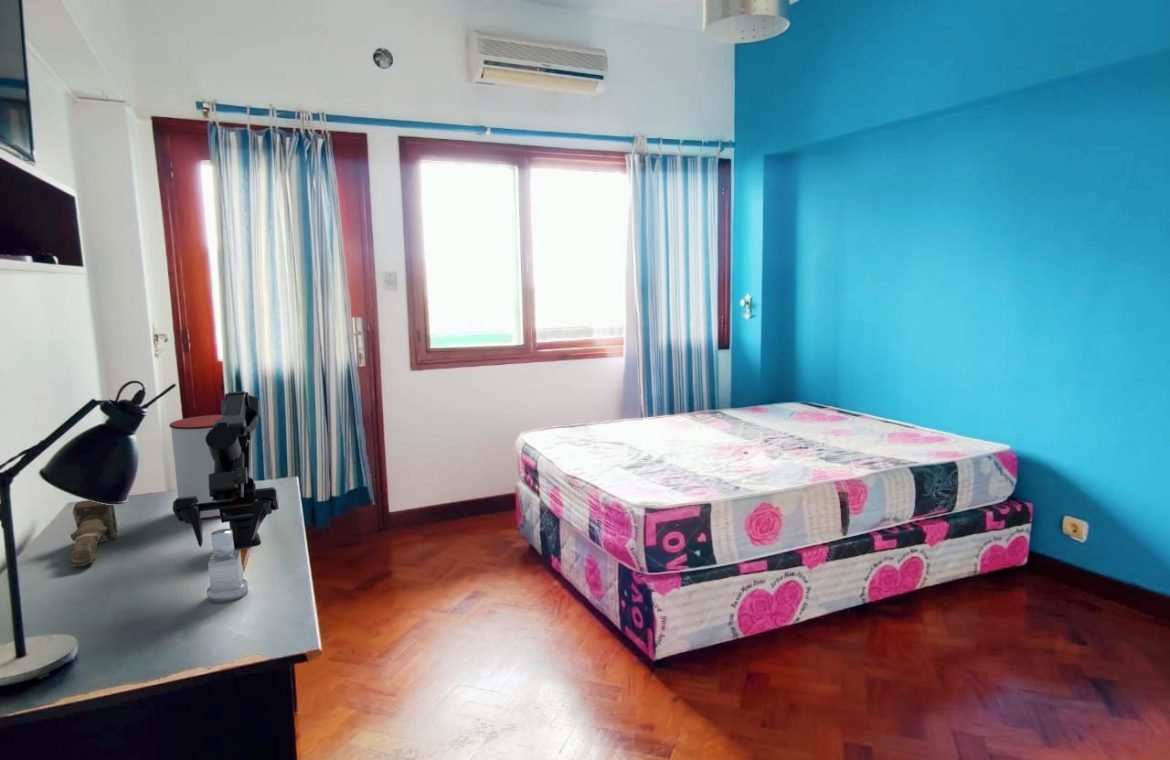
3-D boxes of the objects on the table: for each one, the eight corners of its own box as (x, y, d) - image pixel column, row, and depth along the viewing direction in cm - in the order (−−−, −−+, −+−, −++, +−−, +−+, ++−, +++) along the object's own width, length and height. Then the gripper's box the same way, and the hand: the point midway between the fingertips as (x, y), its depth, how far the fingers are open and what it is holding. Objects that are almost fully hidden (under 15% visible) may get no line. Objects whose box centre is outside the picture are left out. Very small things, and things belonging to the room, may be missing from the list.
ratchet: (222, 561, 146) (220, 541, 146) (257, 556, 149) (255, 537, 148) (205, 606, 125) (202, 584, 124) (246, 600, 128) (244, 578, 127)
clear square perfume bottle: (215, 582, 131) (209, 529, 129) (243, 578, 133) (237, 525, 131) (211, 593, 126) (205, 538, 125) (240, 588, 128) (234, 534, 126)
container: (202, 499, 190) (194, 414, 186) (261, 499, 190) (254, 414, 186) (164, 520, 173) (154, 427, 169) (229, 520, 173) (220, 426, 169)
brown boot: (75, 602, 149) (58, 566, 139) (83, 523, 163) (67, 485, 153) (115, 594, 152) (101, 558, 143) (119, 517, 166) (106, 479, 157)
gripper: (169, 459, 131) (162, 532, 122) (272, 450, 137) (273, 518, 129) (181, 486, 139) (176, 555, 131) (278, 475, 146) (279, 541, 137)
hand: (226, 542), depth 132 cm, fingers open, 9 cm apart
